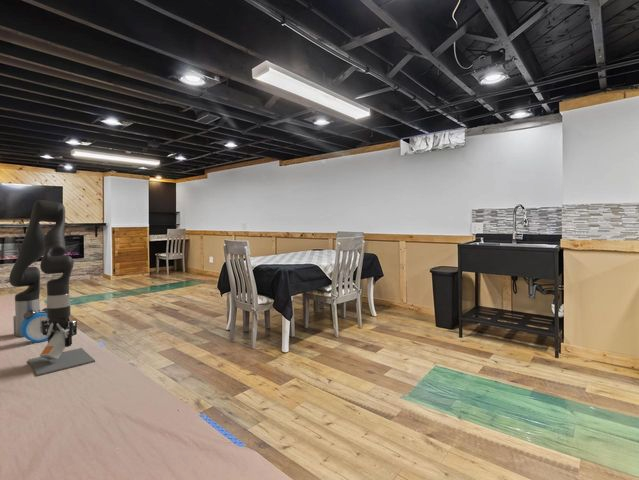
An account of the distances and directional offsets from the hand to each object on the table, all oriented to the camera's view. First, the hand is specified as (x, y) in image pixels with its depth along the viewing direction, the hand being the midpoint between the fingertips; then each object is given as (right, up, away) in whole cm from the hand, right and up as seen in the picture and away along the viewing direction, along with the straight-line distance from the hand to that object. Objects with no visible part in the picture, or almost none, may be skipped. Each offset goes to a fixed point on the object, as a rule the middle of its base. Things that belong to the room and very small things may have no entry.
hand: (60, 345), depth 140 cm
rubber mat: (+2, -6, -2) cm, 6 cm away
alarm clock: (-26, -5, +22) cm, 34 cm away
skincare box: (-1, -3, -5) cm, 6 cm away
